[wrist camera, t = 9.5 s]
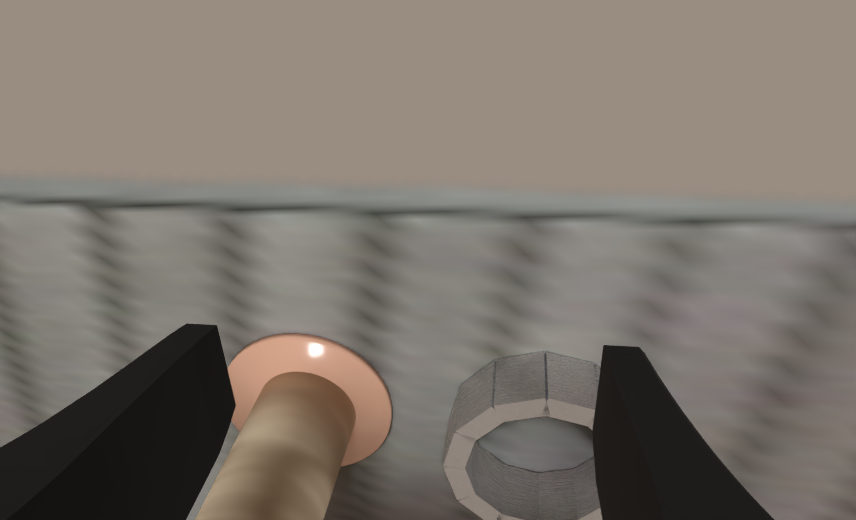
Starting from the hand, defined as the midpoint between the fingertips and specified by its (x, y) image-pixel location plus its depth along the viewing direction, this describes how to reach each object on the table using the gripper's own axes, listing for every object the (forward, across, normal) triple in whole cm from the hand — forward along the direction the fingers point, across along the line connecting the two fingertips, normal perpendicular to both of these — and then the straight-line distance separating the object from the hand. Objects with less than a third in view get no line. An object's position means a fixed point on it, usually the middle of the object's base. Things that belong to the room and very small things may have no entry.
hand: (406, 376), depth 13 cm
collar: (+10, -3, +11) cm, 16 cm away
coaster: (+10, +6, +11) cm, 16 cm away
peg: (+10, +6, +11) cm, 16 cm away
